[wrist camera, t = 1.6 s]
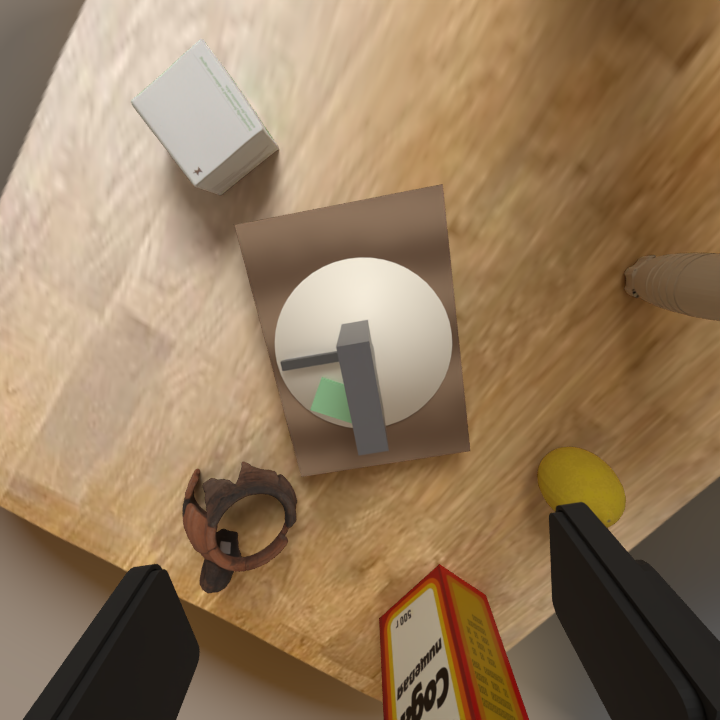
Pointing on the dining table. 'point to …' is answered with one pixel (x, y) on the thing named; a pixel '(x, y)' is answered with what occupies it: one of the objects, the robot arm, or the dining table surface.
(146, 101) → the small box
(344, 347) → the grey block with rod
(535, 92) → the dining table surface
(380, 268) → the dial
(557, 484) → the lemon
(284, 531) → the broken clay pot
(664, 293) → the handle
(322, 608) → the dining table surface
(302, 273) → the board
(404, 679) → the baking soda box
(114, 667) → the robot arm
